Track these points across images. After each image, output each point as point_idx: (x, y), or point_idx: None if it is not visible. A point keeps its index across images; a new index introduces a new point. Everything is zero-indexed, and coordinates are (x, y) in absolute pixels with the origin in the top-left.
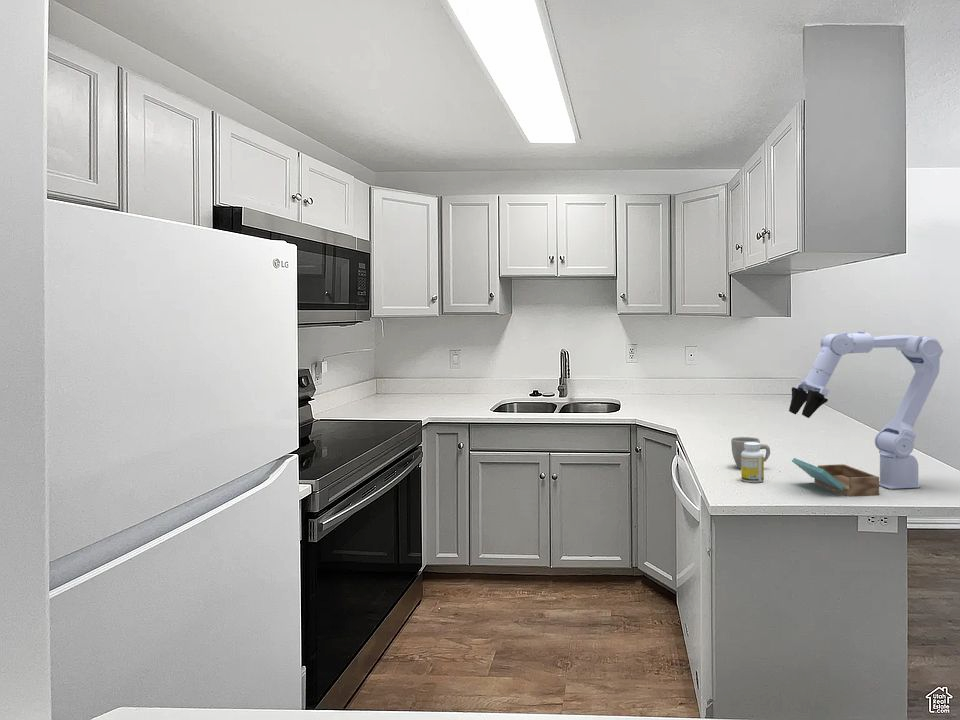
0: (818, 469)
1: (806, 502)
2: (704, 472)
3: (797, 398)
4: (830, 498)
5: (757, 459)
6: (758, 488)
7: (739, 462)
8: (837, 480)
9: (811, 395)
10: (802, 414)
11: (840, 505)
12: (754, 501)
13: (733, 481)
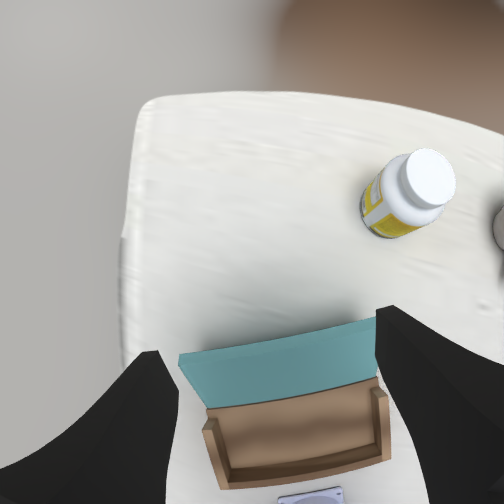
0: (205, 356)
1: (150, 287)
2: (453, 125)
3: (443, 421)
4: None
5: (381, 199)
6: (298, 204)
7: (502, 207)
8: (310, 419)
9: (10, 467)
10: (146, 352)
11: (128, 353)
12: (163, 170)
13: (374, 161)
